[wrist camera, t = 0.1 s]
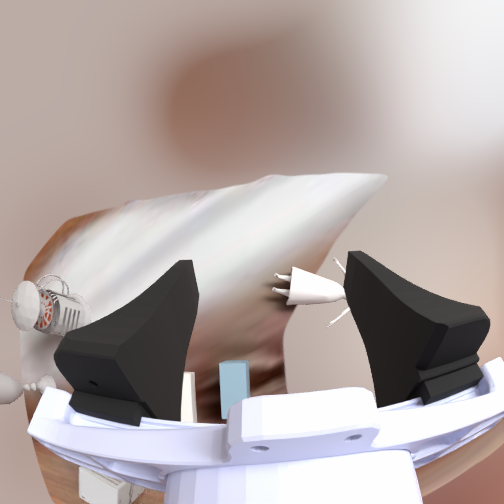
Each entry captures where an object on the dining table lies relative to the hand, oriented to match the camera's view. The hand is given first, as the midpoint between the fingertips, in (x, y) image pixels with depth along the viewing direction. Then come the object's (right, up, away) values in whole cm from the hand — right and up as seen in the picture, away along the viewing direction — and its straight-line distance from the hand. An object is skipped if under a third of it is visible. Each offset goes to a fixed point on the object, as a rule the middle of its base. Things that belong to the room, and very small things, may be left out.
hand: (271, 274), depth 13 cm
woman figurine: (+11, -6, +32) cm, 34 cm away
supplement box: (-23, -39, +22) cm, 50 cm away
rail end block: (-3, -20, +27) cm, 34 cm away
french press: (-35, -11, +32) cm, 49 cm away
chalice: (-43, -27, +27) cm, 57 cm away
